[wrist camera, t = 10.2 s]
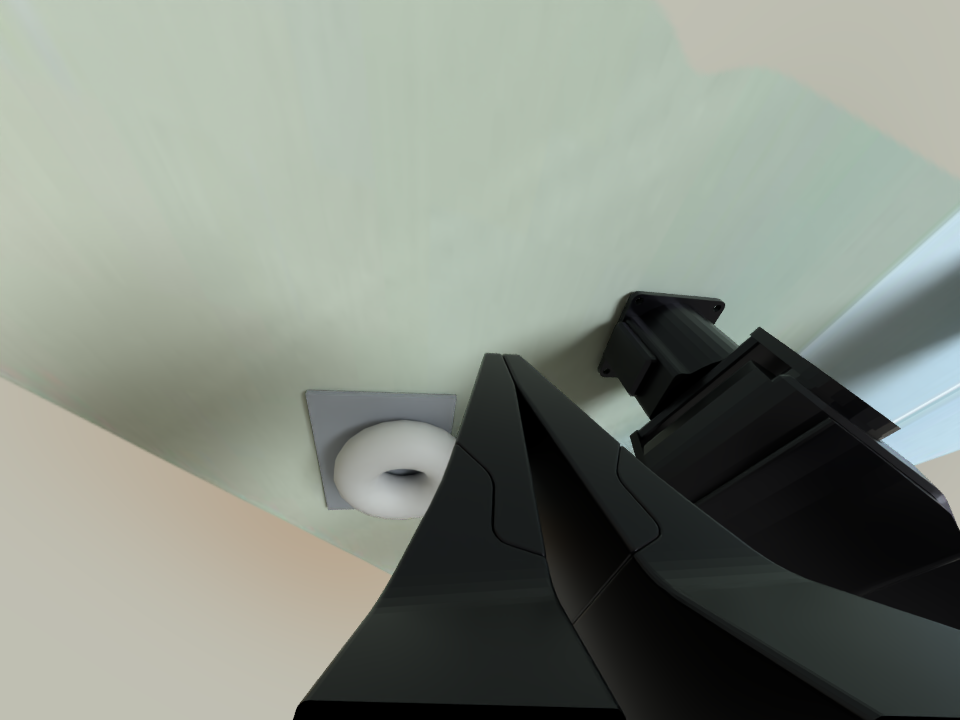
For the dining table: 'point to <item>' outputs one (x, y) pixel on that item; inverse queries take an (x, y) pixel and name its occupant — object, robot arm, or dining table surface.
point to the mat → (366, 424)
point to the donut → (388, 450)
